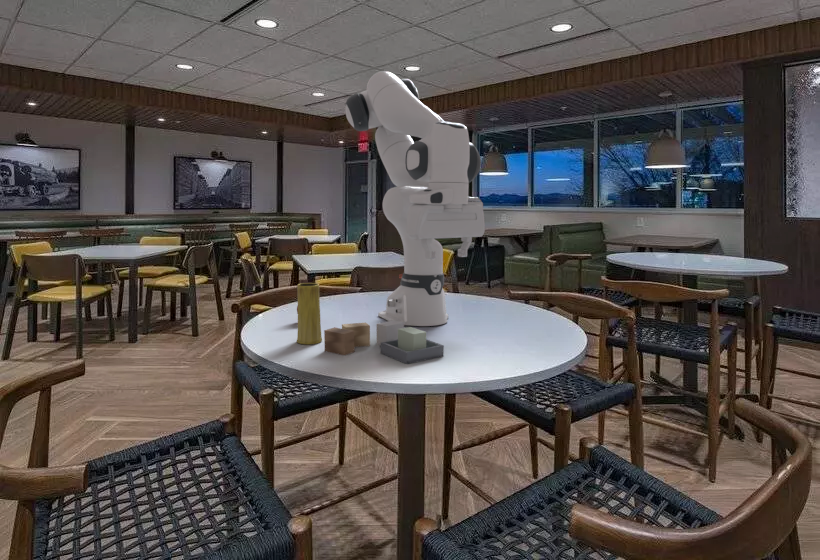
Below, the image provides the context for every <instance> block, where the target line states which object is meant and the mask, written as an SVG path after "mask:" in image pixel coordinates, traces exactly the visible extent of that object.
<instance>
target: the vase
mask: <svg viewBox="0 0 820 560" xmlns="http://www.w3.org/2000/svg"><path fill="white" fill-rule="evenodd" d="M296 289H297V290H296V291H297V306H298V314H297V338H296V342H297V343H298V344H300V345H304V346H305V345H316V344H319V343H321V342H322V341H323V339H322V327H321V324H322V323H321V304H320V303H321V302H320V284H319V283H316V282H302V283H298V284H297V286H296Z"/></svg>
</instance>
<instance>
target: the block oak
mask: <svg viewBox="0 0 820 560" xmlns="http://www.w3.org/2000/svg"><path fill="white" fill-rule="evenodd" d="M341 329H346V330H352V331H354V348H357V347H367V346H368V347H370V346H371V325H370V324H369V323H367V322H355V323H352V322H351V323H342V324H341Z"/></svg>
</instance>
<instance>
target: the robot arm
mask: <svg viewBox="0 0 820 560" xmlns="http://www.w3.org/2000/svg"><path fill="white" fill-rule="evenodd" d="M344 106H345V111H344V112H345V117H346V119H347V121H348V123H349V124H350V126H352V128H353V129H354V130H356V131H357V132H365V131H369V130H370V129H375V128H377V129H376V130H375V134H374V138H375V139H374V140H375V144H376V145H375V146H376V147H377V149H376V150H377V152H378V155H379V157H380V159H381V162H382V164H383V166H384V168H385V170H386V172H387V175H388V176H389V179H390V181H391V183H392V184H393V185H394V187H390V188H389V189H388V190H387V191H386V192H385V194H384V196H383V200H382V212H383V214H384V216H385V217H386V219H387V221H389V222H390V223H391V224H392V225H393V226H394V227H395V228H396V230H397V232H398V234H399V235H400V236H399V237H400V238H401V242H402V246H403V247H402V248H403V261H404V263H403V267H404V268H403V269H404V271H403V273H401V274H399V279H400V283H399V286H398V287H397V288H395V290H393V291H392V293H390V294H389V295H388V296H387V298H386V306H385V308H386V309H385V310H381V311H379V312H378V313H377V314H378V317H380V318H382V319H384V320H386V321H392V320H396V321H401V322H404V326H410V327H411V326H413V327H414V326H415V327H430V326H431V327H432V326H440V325H444V324H447V322H448V319H449V314H448V313H447V305H446V304H447V302H446V293H445V290H444V288H443V287H444V286H445V274H444V273H443V269H444V268H443V267H444V265H443V263H444V248H443V246H442V244H441V243H440V242H439V241H438V240H437V239H452V238H453V239H454V238H455V239H456V238H461V239H460V240H461V242H462V244H461V246H460V248H457V257H459V258H467V257H468V250H469V248H470V246H471V244H472V242H473V241H472V239H473V238H478V237H479V238H480V237H483V235H485V231H486V230H485V229H486V226H485V212H484V203H483V202H482V199H480V198H479V197H478V196H473V197H472V196H469V186H470V185H469V184H470V183H471V182H472V181H474V179H475V178H476V177H477V176H478V174H479V172H480V171H481V167H482V160H481V156H480V152H479V151H478V149H477V147H476V146H475V145H474V144H473V143H472V142H470V136H469V130H468V128H467V126H465V124H463V123H459V122H451V121H445V120H444V119H443V118H442V117H441V116H440V115H439V114H437V113H436V112H434V111H433V110H432V109H430V107H428V106H427V105H425V104H424V102H422V101H420V95H419V91H418V89H417V87H416V86H415V84H414V82H413V81H412V80H410V78H399V77H398V76H397V75H396V74H395V73H392V72H390V71H388V70H381V71H377V72H375V73H374V74H373V75H371V77H370V78H369V79H368V82H367V85H366V90H363V91H361V92H359V93H357V92H356V93H355V94H353V95H351V96H349V97H348V98H347V100H346V102H345V105H344ZM412 137H416V138H420V139H419V140H415V141H414V140H413V138H412Z"/></svg>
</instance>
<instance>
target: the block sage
mask: <svg viewBox="0 0 820 560" xmlns="http://www.w3.org/2000/svg"><path fill="white" fill-rule="evenodd" d="M426 340H427V331H424V330H421V329H419V328H415V327H411V326H408V327H404V328H401V329H398V348H400V349H402V350H405V351H407V352H408V351H413V350H418V349H423V348H426Z"/></svg>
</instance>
